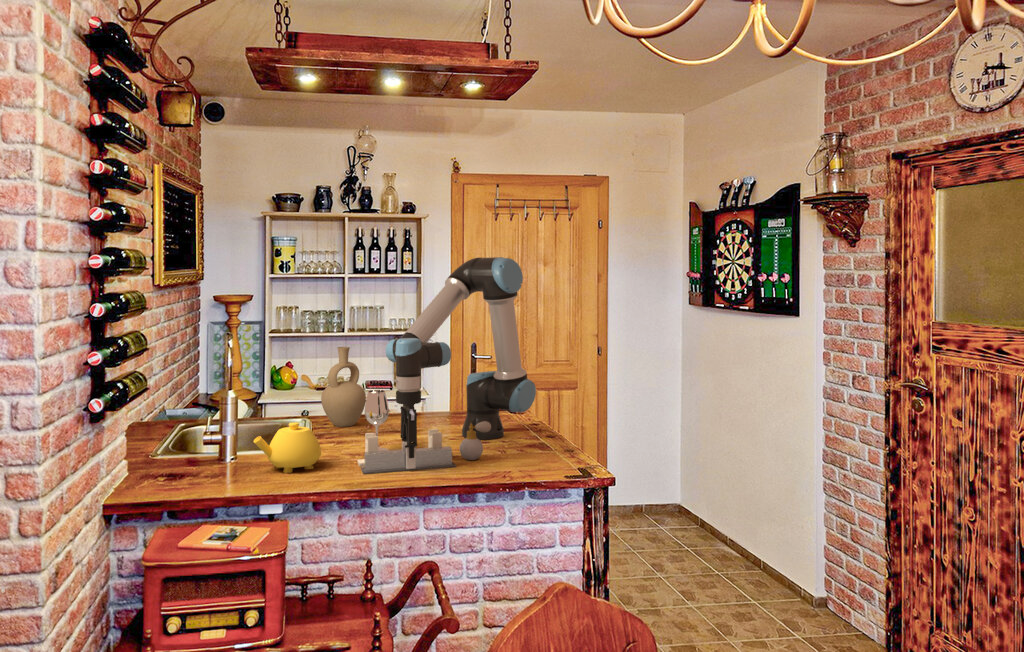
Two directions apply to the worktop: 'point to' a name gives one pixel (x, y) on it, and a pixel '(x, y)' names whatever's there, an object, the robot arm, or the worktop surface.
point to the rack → (372, 442)
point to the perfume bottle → (473, 441)
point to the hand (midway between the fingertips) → (408, 465)
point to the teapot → (291, 448)
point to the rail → (398, 458)
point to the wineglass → (376, 410)
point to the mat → (407, 469)
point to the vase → (343, 394)
